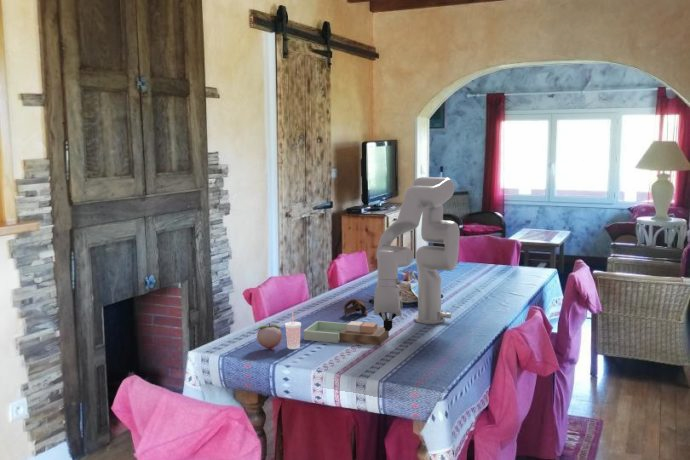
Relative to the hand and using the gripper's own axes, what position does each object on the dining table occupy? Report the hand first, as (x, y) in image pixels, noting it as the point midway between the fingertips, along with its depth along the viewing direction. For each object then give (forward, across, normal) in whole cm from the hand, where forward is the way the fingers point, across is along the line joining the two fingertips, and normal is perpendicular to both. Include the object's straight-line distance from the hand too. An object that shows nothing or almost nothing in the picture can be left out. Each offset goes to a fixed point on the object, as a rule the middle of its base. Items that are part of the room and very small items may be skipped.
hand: (388, 329), depth 256 cm
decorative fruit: (+5, +38, +22) cm, 45 cm away
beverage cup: (+5, +32, +17) cm, 36 cm away
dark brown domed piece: (+5, +24, -33) cm, 41 cm away
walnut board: (+4, +10, 0) cm, 11 cm away
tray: (+4, +24, 0) cm, 25 cm away
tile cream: (+1, +13, 0) cm, 13 cm away
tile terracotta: (+1, +8, 0) cm, 8 cm away
